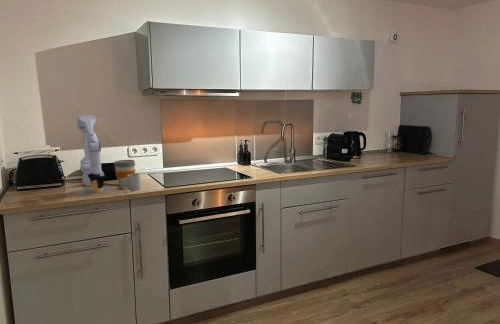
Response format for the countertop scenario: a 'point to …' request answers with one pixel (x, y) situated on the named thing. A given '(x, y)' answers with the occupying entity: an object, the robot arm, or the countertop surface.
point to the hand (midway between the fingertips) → (97, 187)
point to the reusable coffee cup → (124, 170)
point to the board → (90, 190)
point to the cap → (96, 187)
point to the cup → (132, 182)
